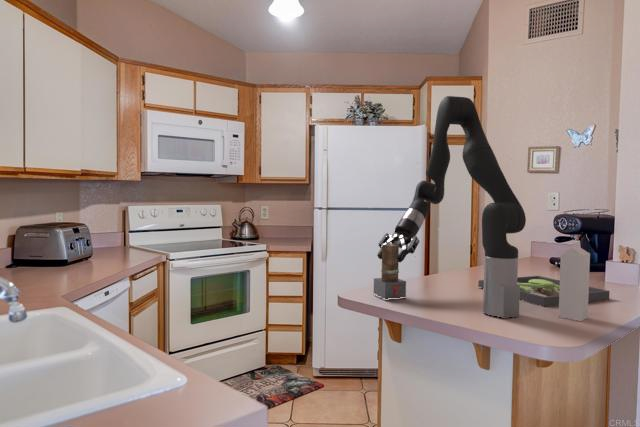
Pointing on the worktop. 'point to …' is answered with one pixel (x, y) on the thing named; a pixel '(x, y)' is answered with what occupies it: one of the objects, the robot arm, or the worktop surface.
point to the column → (390, 262)
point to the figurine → (538, 285)
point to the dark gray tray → (594, 295)
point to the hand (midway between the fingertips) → (388, 259)
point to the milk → (574, 283)
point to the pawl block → (390, 288)
